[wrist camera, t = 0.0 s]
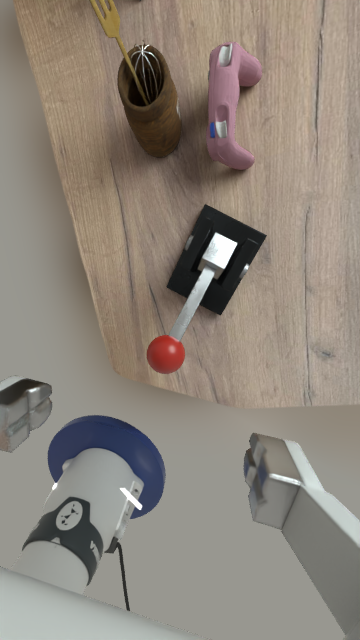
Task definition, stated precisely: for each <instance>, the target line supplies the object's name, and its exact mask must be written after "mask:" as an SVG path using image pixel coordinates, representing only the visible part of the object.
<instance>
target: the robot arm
mask: <svg viewBox="0 0 360 640" xmlns="http://www.w3.org/2000/svg"><path fill="white" fill-rule="evenodd" d="M51 393H52V387H51V385H49V384H47V383H43V382H39V381H35V380H31V379H27V378H23V377H20V376H10V377H8V378H6V379H4V380H3V381H1V382H0V450H2V451H6V452H12V451H14V450H15V449H16V448H17V447H18V446H19V445H20V444H21V443H22V442H24V441H25V440H26V439H27V438H28V437H29V434H30V431H32V430H34V429H36V428H39V427H40V426H41V425H42V424H43V423H44V422H45V421H46V420H47V418H48V417H49V415H50V413H51V410H52V402H51V400H50V398H49V396H50V395H51ZM249 442H250V446H251V448H250V449H248V450H247V451H246V454H245V457H244V476H245V482H246V483H247V484H248V486H249V487H250V492H249V495H248V497H249V503H250V508H251V513H252V518H253V521H255V522H258V523H262V524H265V525H268V526H271V527H274V528H277V529H280V530H282V531H281V532H282V533H283V535H284V537H285V538H286V540H287V542H288V543H289V545H290V546H291V548H292V550H293V551H294V553H295V554H296V556H297V558H298V559H299V561H300V563H301V564H302V566H303V567H304V569H305V570H306V572H307V574H308V575H309V577H310V579H311V580H312V582H313V583H314V585H315V587H316V588H317V590H318V592H319V593H320V595H321V596H322V598H323V600H324V601H325V603H326V604H327V606H328V608H329V609H330V611H331V612H332V614H333V616H334V617H335V619H336V621H337V622H338V624H339V625H340V627H341V629H342V630H343V632H344V633H345V635H346V636H345V638H344V639H343V640H360V521H359V520H358V519H357V518H356V517H355V516H354V515H353V514H352V513H351V512H350V511H349V510H348V509H347V508H346V507H344V506H343V505H342V504H341V503H340V502H339V501H338V500H337V499H336V498H335V497H334V496H333V495H332V494H331V493H328V492H325V490H324V489H323V487H322V485H321V483H320V481H319V480H318V478H317V476H316V474H315V472H314V471H313V469H312V467H311V465H310V463H309V462H308V460H307V458H306V456H305V454H304V452H303V451H302V449H301V447H300V445H299V444H298V443H297V442H293V441H289V440H284V439H278V438H274V437H270V436H265V435H260V434H257V433H253V434H252V435H251V437H250V440H249ZM62 468H63V474H62V476H61V477H60V479H59V481H58V482H57V483H55V484H54V486H53V490H52V492H51V493H50V495H49V496H48V498H47V499H46V501H45V503H44V516H43V517H42V518H41V519H40V521H39V522H38V524H37V525H36V526H35V527H34V529H33V530H32V531H31V533H30V535H29V537H28V539H27V540H26V542H25V543H24V545H23V548H22V553H21V554H20V556H19V557H18V559H17V560H16V562H15V563H14V565H13V566H12V568H11V569H10V570H9V569H6V568H3V567H1V566H0V640H210V639H208V638H205V637H202V636H199V635H196V634H193V633H190V632H188V631H184V630H182V629H179V628H176V627H173V626H170V625H168V624H164V623H161V622H158V621H156V620H153V619H150V618H147V617H145V616H141V615H139V614H136V613H133V612H130V608H129V602H128V596H127V589H126V581H125V571H124V564H123V555H122V549H121V545H120V543H119V542H117V541H118V539H122V537H123V534H124V531H125V528H126V526H127V524H128V522H129V519H130V517H131V515H132V512H133V510H134V508H135V506H136V507H137V508H138V509H139V510H141V507H142V505H141V504H140V503H139V502H138V499H139V496H140V494H141V492H142V489H143V487H144V483H143V481H142V480H141V479H140V478H139V477H137V476H136V475H135V474H134V473H133V471H132V469H131V468H130V466H129V465H128V463H127V462H126V461H125V460H124V459H123V458H121V457H120V456H119V455H117V454H115V453H114V452H111V451H109V450H106V449H101V448H90V449H86V450H84V451H82V452H80V453H79V454H78V455H77V456H76V457H75V458H72V459H68V460H66V461H65V463H64V464H63V466H62ZM117 547H118V549H119V555H120V565H121V571H122V579H123V580H122V581H123V588H124V596H125V602H126V608H127V610H124V609H121V608H119V607H116V606H113V605H110V604H107V603H104V602H101V601H98V600H96V599H93V598H90V597H87V596H84V595H83V593H84V591H85V588H86V586H87V585H89V583H90V582H91V580H92V577H93V575H94V574H95V572H96V570H97V568H98V565H99V561H100V559H101V557H102V554H103V552H105V553H114V551H115V550H116V548H117Z"/></svg>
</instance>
